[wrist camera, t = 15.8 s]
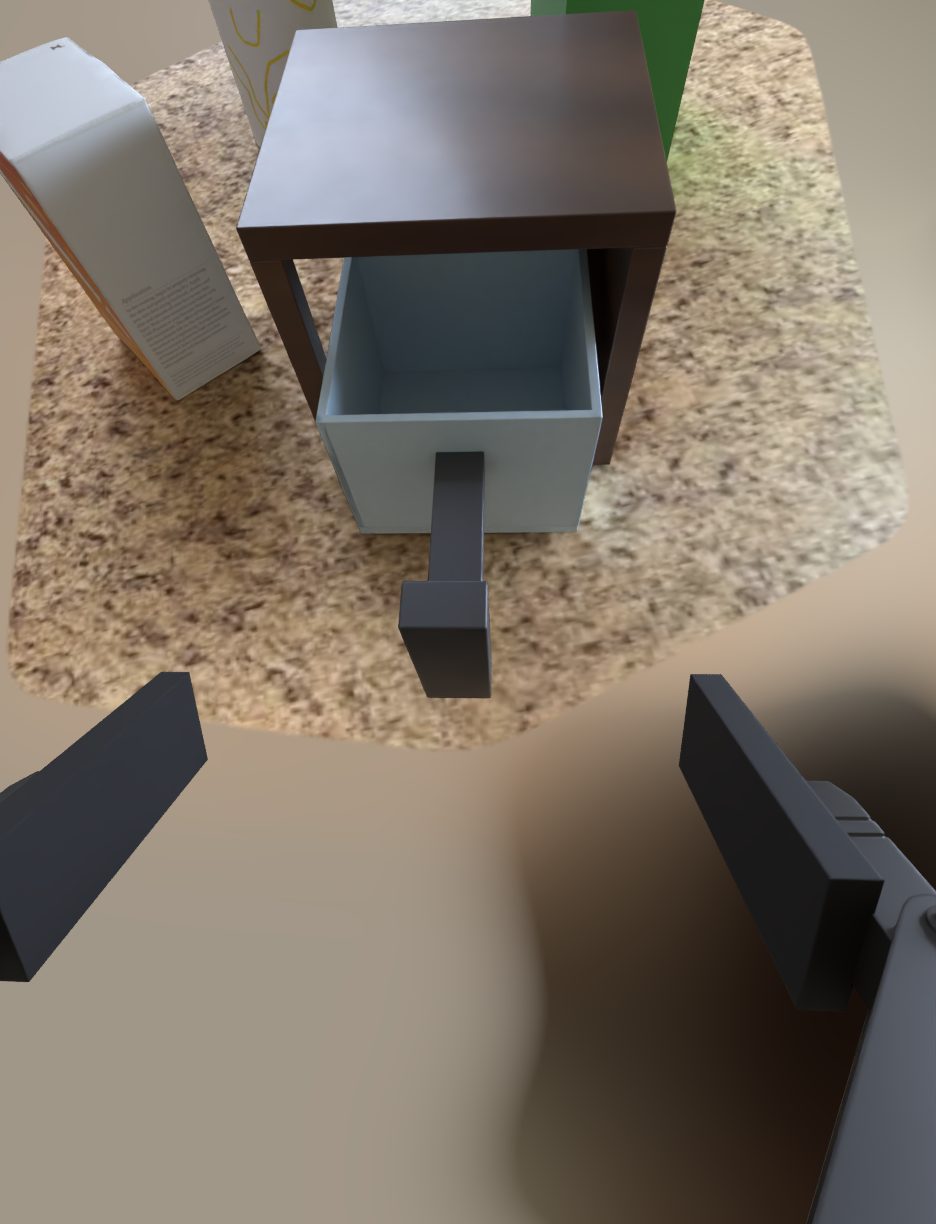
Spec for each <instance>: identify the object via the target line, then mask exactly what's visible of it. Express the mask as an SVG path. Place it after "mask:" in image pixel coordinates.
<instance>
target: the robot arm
mask: <svg viewBox="0 0 936 1224" xmlns="http://www.w3.org/2000/svg"><path fill="white" fill-rule="evenodd" d="M207 760H208V759H207V754H206V749H205V744H204V740H203V735H202V730H201V726H200V721H199V716H198V711H197V707H196V702H195V697H194V693H193V688H192V683H191V678H190V674H189V672H161V673H160V674H158V675H157V676H156V677H155V678H153V679H152V680H151V681H150V682H148V683H147V684H146V685H145V686H144V687H142V688H141V689H140V690H139V691H137V692H136V693H135V694H134V695H133V696H131V697H130V698H129V699H128V700H126V701H125V702H124V703H123V704H122V705H120V706H119V707H118V708H117V709H115V710H114V711H113V712H112V713H111V714H109V715H108V716H107V717H106V718H104V719H103V720H102V721H101V722H99V723H98V724H97V725H96V726H95V727H94V728H92V729H91V730H90V731H89V732H87V733H86V734H85V735H84V736H82V737H81V738H80V739H79V740H78V741H76V742H75V743H74V744H73V745H71V746H70V747H69V748H68V749H67V750H65V751H64V752H63V753H62V754H60V755H59V756H58V757H57V758H56V759H54V760H53V761H52V762H50V764H48V765H47V766H46V767H44V768H43V769H42V770H41V771H37V772H35V773H33V774H31V775H29V776H27V777H26V778H24V779H22V780H20V781H18V782H16V783H14V784H12V785H11V786H9V787H8V788H6V789H5V790H4V791H3V792H1V793H0V981H16V982H29V981H30V980H31V979H32V978H33V976H34V975H35V974H36V973H37V971H38V970H39V969H40V967H41V966H42V965H43V964H44V963H45V961H46V960H47V959H48V958H49V956H50V955H51V954H52V953H53V951H54V950H55V949H56V948H57V946H58V945H59V944H60V943H61V941H62V940H63V939H64V938H65V936H66V935H67V934H68V933H69V932H70V930H71V929H72V928H73V927H74V925H75V924H76V923H77V922H78V920H79V919H80V918H81V917H82V915H83V914H84V913H85V911H86V910H87V909H88V908H89V907H90V905H91V904H92V903H93V902H94V900H95V899H96V898H97V897H98V895H99V894H100V893H101V892H102V890H103V889H104V888H105V887H106V885H107V884H108V883H109V881H111V879H112V878H113V877H114V876H115V874H116V873H117V872H118V871H119V869H120V868H121V867H122V865H123V864H124V863H125V862H126V861H127V859H128V858H129V857H130V855H131V854H132V853H133V852H134V851H135V849H136V848H137V847H138V846H139V844H140V843H141V842H142V841H143V839H144V838H145V837H146V836H147V834H148V833H149V832H150V830H151V829H152V828H153V827H154V826H155V824H156V823H157V822H158V820H159V819H160V818H161V817H162V816H163V815H164V813H165V812H166V811H167V809H168V808H169V807H170V806H171V805H172V803H173V802H174V801H175V800H176V798H177V797H178V796H179V794H180V793H181V792H182V791H183V790H184V788H185V787H186V786H187V785H188V783H189V782H190V781H191V780H192V778H193V777H194V776H195V775H196V773H197V772H198V771H199V770H200V768H201V767H202V766H203V765H204V763H205V762H206V761H207ZM679 767H680V769H681V771H682V773H683V775H684V777H685V779H686V781H687V783H688V785H689V788H690V790H691V792H692V794H693V796H694V798H695V800H696V802H697V804H698V806H699V808H700V810H701V812H702V815H703V817H704V819H705V821H706V823H707V825H708V827H709V829H710V831H711V833H712V835H713V837H714V839H715V841H716V844H717V846H718V847H719V850H720V852H721V854H722V856H723V858H724V860H725V862H726V864H727V866H728V868H729V870H730V872H731V875H732V877H733V879H734V881H735V883H736V885H737V887H738V889H739V891H740V893H741V895H742V897H743V899H744V901H745V903H746V905H747V908H748V910H749V912H750V914H751V916H752V918H753V920H754V922H755V924H756V926H757V928H758V930H759V932H760V935H761V936H762V939H763V941H764V943H765V945H766V947H767V949H768V951H769V953H770V955H771V957H772V959H773V961H774V964H775V966H776V968H777V969H778V972H779V974H780V976H781V978H782V980H783V982H784V984H785V986H786V988H787V990H788V992H789V995H790V996H791V998H792V1001H793V1003H794V1005H795V1007H796V1009H797V1010H819V1011H846V1007H847V1004H848V1001H849V997H850V994H851V991H852V988H853V985H854V986H855V988H856V990H857V991H858V993H859V995H860V996H861V998H862V1000H863V1001H864V1003H865V1005H866V1006H867V1008H868V1010H869V1011H868V1014H867V1017H866V1021H865V1024H864V1027H863V1030H862V1033H861V1036H860V1039H859V1042H858V1045H857V1048H856V1052H855V1055H854V1056H855V1058H854V1061H853V1065H852V1068H851V1072H850V1076H849V1079H848V1082H847V1085H846V1089H845V1092H844V1096H843V1100H842V1103H841V1106H840V1110H839V1113H838V1116H837V1120H836V1123H835V1127H834V1130H833V1134H832V1137H831V1141H830V1144H829V1148H828V1151H827V1155H826V1158H825V1161H824V1164H823V1168H822V1171H821V1175H820V1178H819V1182H818V1185H817V1189H816V1192H815V1195H814V1199H813V1202H812V1206H811V1209H810V1213H809V1216H808V1219H807V1223H806V1224H936V891H935V890H934V889H933V888H932V887H931V885H930V884H929V883H928V882H927V881H926V880H925V879H924V877H923V876H922V875H921V874H920V873H919V872H918V871H917V869H916V868H915V867H914V866H913V865H912V864H911V863H910V862H909V860H908V859H907V858H906V857H905V856H904V855H903V853H902V852H901V851H900V850H899V849H898V848H897V847H896V846H895V844H894V843H893V842H892V841H891V840H890V839H889V838H886V837H885V833H884V832H883V831H882V830H881V828H880V827H879V826H878V825H877V824H876V823H875V822H874V821H871V817H870V816H869V815H868V814H867V813H866V811H865V810H864V809H863V808H862V807H861V806H860V805H859V803H858V802H857V801H856V800H855V799H854V798H853V797H851V796H850V795H848V794H847V793H846V792H844V791H843V790H841V789H840V788H838V787H837V786H835V785H833V784H832V783H831V782H829V781H805V779H804V778H803V777H802V775H801V774H800V773H799V772H798V770H797V769H796V768H795V767H794V765H793V764H792V763H791V762H790V760H789V759H788V758H787V757H786V755H785V754H784V753H783V752H782V750H781V749H780V748H779V747H778V745H777V744H776V743H775V741H774V740H773V739H772V738H771V737H770V735H769V734H768V733H767V731H766V730H765V729H764V728H763V726H762V725H761V724H760V723H759V721H758V720H757V719H756V718H755V716H754V715H753V714H752V712H751V711H750V710H749V709H748V707H747V706H746V705H745V704H744V702H743V701H742V700H741V699H740V698H739V696H738V695H737V694H736V692H735V691H734V690H733V689H732V687H731V686H730V685H729V683H728V682H727V681H726V680H725V678H724V677H723V676H722V675H721V674H720V675H719V674H716V675H715V674H712V675H711V674H709V675H707V674H691V675H690V682H689V690H688V698H687V706H686V714H685V722H684V730H683V738H682V745H681V753H680V762H679Z"/></svg>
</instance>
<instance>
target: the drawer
mask: <svg viewBox="0 0 936 1224" xmlns="http://www.w3.org/2000/svg"><path fill="white" fill-rule="evenodd" d="M602 418H603V417H602V406H601V395H600V385H599V374H598V363H597V353H596V342H595V331H594V320H593V310H592V299H591V288H590V277H589V267H588V256H587V249H570V250H542V251H514V252H486V253H458V254H430V255H402V256H374V257H345V258H344V261H343V267H342V273H341V278H340V284H339V290H338V296H337V301H336V307H335V313H334V319H333V324H332V330H331V336H330V342H329V347H328V353H327V359H326V365H325V370H324V376H323V382H322V388H321V393H320V399H319V405H318V410H317V416H316V422H315V423H316V426H317V428H318V430H319V433H320V435H321V438H322V440H323V443H324V445H325V448H326V450H327V452H328V455H329V457H330V460H331V462H332V465H333V467H334V469H335V472H336V474H337V477H338V479H339V482H340V484H341V486H342V489H343V491H344V494H345V496H346V499H347V501H348V503H349V506H350V508H351V511H352V513H353V516H354V518H355V520H356V523H357V525H358V527H359V530H360V532H361V533H362V534H373V533H431V539H430V555H429V572H428V581H403V582H402V588H401V600H400V612H399V624H398V628H399V631H400V633H401V635H402V638H403V640H404V643H405V645H406V647H407V650H408V652H409V655H410V657H411V659H412V662H413V664H414V667H415V669H416V671H417V674H418V676H419V679H420V681H421V683H422V686H423V688H424V691H425V693H426V695H427V697H428V698H491V663H492V662H491V641H490V619H489V598H488V583H487V581H483V575H484V533H511V532H577V530H578V526H579V522H580V517H581V513H582V508H583V504H584V499H585V495H586V490H587V486H588V481H589V477H590V472H591V467H592V463H593V458H594V454H595V449H596V445H597V440H598V436H599V431H600V427H601V422H602Z"/></svg>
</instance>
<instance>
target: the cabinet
mask: <svg viewBox="0 0 936 1224" xmlns="http://www.w3.org/2000/svg"><path fill="white" fill-rule="evenodd" d="M675 215H676V207H675V202H674V197H673V192H672V187H671V182H670V177H669V172H668V167H667V162H666V157H665V152H664V147H663V142H662V137H661V132H660V127H659V122H658V117H657V112H656V108H655V103H654V98H653V93H652V88H651V83H650V78H649V73H648V68H647V63H646V58H645V53H644V48H643V43H642V38H641V33H640V28H639V23H638V18H637V13H636V10H629V11H612V12H596V13H579V14H562V15H545V16H528V17H511V18H494V19H477V20H460V21H444V22H427V23H410V24H393V25H376V26H359V27H342V28H325V29H309V30H296V32H295V35H294V39H293V42H292V45H291V49H290V52H289V55H288V59H287V62H286V65H285V69H284V72H283V75H282V78H281V82H280V85H279V88H278V92H277V95H276V98H275V102H274V105H273V108H272V111H271V115H270V118H269V121H268V125H267V128H266V131H265V135H264V138H263V141H262V145H261V148H260V151H259V154H258V158H257V161H256V164H255V168H254V171H253V174H252V178H251V181H250V184H249V188H248V191H247V194H246V197H245V201H244V204H243V207H242V211H241V214H240V217H239V221H238V224H237V227H236V229H237V232H238V234H239V236H240V239H241V241H242V244H243V246H244V249H245V251H246V254H247V256H248V258H249V260H250V263H251V266H252V268H253V271H254V273H255V276H256V278H257V280H258V283H259V285H260V288H261V290H262V293H263V295H264V297H265V300H266V302H267V305H268V307H269V310H270V312H271V315H272V317H273V319H274V322H275V324H276V327H277V329H278V332H279V334H280V336H281V339H282V341H283V344H284V346H285V349H286V351H287V354H288V356H289V358H290V361H291V363H292V366H293V368H294V371H295V373H296V375H297V378H298V380H299V383H300V385H301V388H302V390H303V393H304V395H305V397H306V400H307V402H308V405H309V407H310V410H311V412H312V415H313V417H314V419H315V422H316V416H317V410H318V405H319V399H320V393H321V388H322V382H323V376H324V370H325V365H326V356H325V353H324V350H323V347H322V344H321V341H320V339H319V336H318V333H317V330H316V327H315V324H314V321H313V318H312V315H311V312H310V309H309V306H308V303H307V300H306V297H305V294H304V291H303V288H302V285H301V282H300V280H299V277H298V274H297V271H296V268H295V265H294V262H293V259H317V258H345V257H374V256H402V255H430V254H458V253H486V252H514V251H542V250H570V249H587V256H588V267H589V277H590V288H591V299H592V310H593V320H594V331H595V342H596V353H597V363H598V374H599V385H600V395H601V406H602V417H603V418H602V422H601V427H600V431H599V436H598V440H597V445H596V449H595V454H594V458H593V463H592V465H606V464H610V461H611V458H612V454H613V450H614V446H615V442H616V439H617V435H618V431H619V427H620V423H621V420H622V416H623V412H624V408H625V404H626V401H627V397H628V393H629V389H630V386H631V382H632V378H633V374H634V370H635V367H636V363H637V359H638V355H639V351H640V348H641V344H642V340H643V336H644V332H645V329H646V325H647V321H648V317H649V313H650V310H651V306H652V302H653V298H654V294H655V291H656V287H657V283H658V279H659V275H660V272H661V268H662V264H663V260H664V256H665V253H666V249H667V245H668V241H669V238H670V234H671V230H672V226H673V222H674V219H675Z"/></svg>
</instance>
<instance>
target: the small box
mask: <svg viewBox="0 0 936 1224" xmlns="http://www.w3.org/2000/svg"><path fill="white" fill-rule="evenodd" d="M0 174H1V175H2V176H3V178H4V179H5V181H6V182H7V183H8V184H9V186H10V187H11V189H12V190H13V192H14V193H15V194H16V196H17V197H18V199H19V200H20V201H21V203H22V204H23V206H24V207H25V208H26V210H27V211H28V212H29V214H30V215H31V217H32V218H33V220H34V221H35V222H36V224H37V225H38V227H39V228H40V229H41V231H42V232H43V233H44V235H45V236H46V238H47V239H48V240H49V242H50V243H51V245H52V246H53V247H54V249H55V250H56V251H57V253H58V254H59V256H60V257H61V258H62V260H63V261H64V263H65V264H66V265H67V267H68V268H69V270H70V271H71V272H72V274H73V275H74V277H75V278H76V279H77V281H78V282H79V284H80V285H81V287H82V288H83V289H84V291H85V292H86V294H87V295H88V297H89V298H90V299H91V301H92V302H93V304H94V305H95V307H96V308H97V309H98V311H99V312H100V314H101V315H102V316H103V318H104V319H105V320H106V322H107V323H108V324H109V326H110V327H111V329H112V330H113V331H114V333H115V334H116V335H117V336H118V337H119V338H120V339H121V340H122V341H123V342H124V343H125V344H126V345H127V346H128V347H129V348H130V349H131V350H132V351H133V353H134V354H135V355H136V356H137V357H138V358H139V359H140V360H141V361H142V362H143V364H144V365H145V366H146V367H147V368H148V369H149V370H150V371H151V373H152V374H153V375H154V376H155V377H156V378H157V380H158V381H159V382H160V383H161V384H162V385H163V387H164V388H165V389H166V390H167V391H168V392H169V394H170V395H171V396H172V397H173V398H174V399H175V400H180V399H182V398H183V397H185V396H187V395H188V394H190V393H191V392H193V391H195V390H196V389H198V388H199V387H201V386H203V385H204V384H206V383H207V382H209V381H211V380H212V379H214V378H216V377H217V376H219V375H221V374H222V373H224V372H225V371H227V370H229V369H231V368H232V367H234V366H236V365H237V364H239V363H241V362H242V361H244V360H245V359H247V358H248V357H250V356H252V355H253V354H255V353H256V352H258V351H259V350H260V348H261V347H260V345H259V342H258V340H257V338H256V336H255V334H254V332H253V330H252V328H251V326H250V323H249V321H248V319H247V317H246V315H245V313H244V311H243V308H242V306H241V304H240V302H239V300H238V298H237V296H236V294H235V291H234V289H233V287H232V285H231V283H230V281H229V278H228V276H227V274H226V272H225V270H224V268H223V265H222V263H221V261H220V259H219V257H218V254H217V252H216V250H215V248H214V246H213V243H212V241H211V239H210V237H209V235H208V233H207V231H206V229H205V226H204V224H203V222H202V220H201V218H200V216H199V214H198V211H197V209H196V207H195V205H194V203H193V201H192V199H191V196H190V194H189V192H188V190H187V188H186V186H185V184H184V181H183V179H182V177H181V175H180V173H179V171H178V169H177V166H176V164H175V162H174V160H173V157H172V155H171V153H170V151H169V149H168V147H167V145H166V142H165V140H164V138H163V136H162V134H161V132H160V130H159V128H158V126H157V123H156V121H155V119H154V117H153V115H152V113H151V111H150V108H149V106H148V104H147V102H146V100H145V99H144V97H142V96H141V95H140V94H139V93H138V92H137V91H135V90H134V89H133V88H132V87H131V86H129V85H128V84H127V83H126V82H124V81H123V80H122V79H121V78H119V77H118V76H117V75H116V74H115V73H114V72H113V71H112V70H111V69H110V68H109V67H108V66H107V65H105V64H104V63H103V62H101V61H100V60H98V59H96V58H95V57H93V56H91V55H90V54H89V53H87V52H86V51H85V50H83V49H82V48H81V47H79V46H78V45H77V44H75V43H74V42H73V41H71V40H70V39H69V38H67V37H66V38H61V39H58V40H55V41H52V42H49V43H46V44H43V45H41V46H38V47H36V48H33V49H31V50H28V51H26V52H23V53H21V54H18V55H16V56H13V57H11V58H9V59H7V60H4V61H1V62H0Z"/></svg>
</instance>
